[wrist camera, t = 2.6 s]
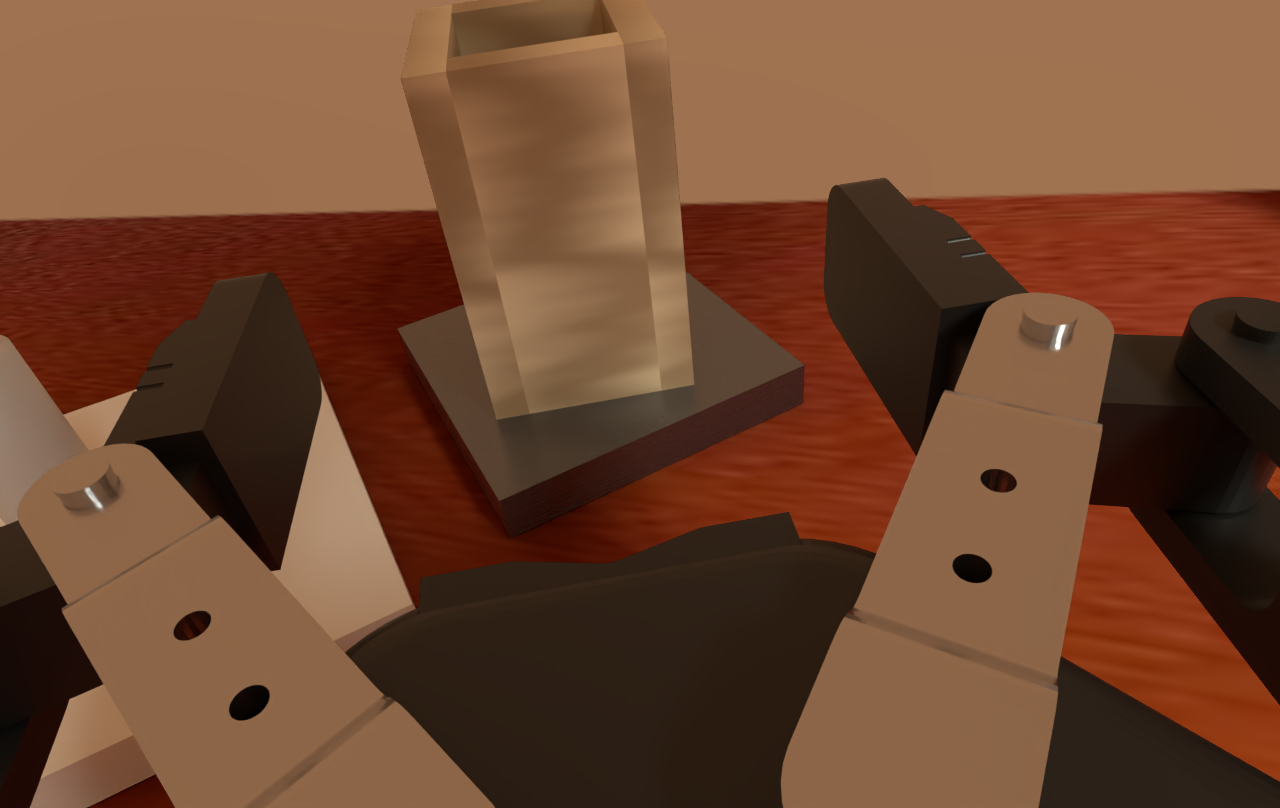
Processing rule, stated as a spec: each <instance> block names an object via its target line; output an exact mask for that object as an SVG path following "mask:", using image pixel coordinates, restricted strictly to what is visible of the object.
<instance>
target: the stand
mask: <svg viewBox="0 0 1280 808" xmlns="http://www.w3.org/2000/svg"><path fill="white" fill-rule="evenodd" d="M685 272H686V271H685ZM686 285H687V298H688V311H689V324H690V337H691V349H692V362H693V375H694V385H690V386H685V387H679V388H673V389H668V390H662V391H656V392H651V393H645V394H639V395H634V396H628V397H622V398H617V399H611V400H605V401H600V402H594V403H588V404H583V405H577V406H571V407H566V408H560V409H554V410H549V411H543V412H537V413H532V414H526V415H520V416H515V417H509V418H503V419H498V420H496V416H495V413H494V409H493V405H492V402H491V398H490V395H489V391H488V388H487V384H486V381H485V377H484V373H483V370H482V366H481V363H480V359H479V356H478V352H477V348H476V345H475V341H474V338H473V334H472V331H471V327H470V324H469V320H468V316H467V313H466V309H465V306H464V305H461V306H458V307H456V308H453V309H450V310H447V311H444V312H442V313H439V314H436V315H433V316H431V317H428V318H425V319H422V320H419V321H417V322H414V323H411V324H408V325H406V326H403V327H400V328H397V330H398V332H399V335H400V338H401V341H402V344H403V347H404V350H405V352H406V355H407V358H408V361H409V363H410V365H411V367H412V369H413V370H414V372H415V374H416V375H417V377H418V379H419V381H420V382H421V384H422V386H423V388H424V389H425V391H426V393H427V395H428V396H429V398H430V400H431V401H432V403H433V405H434V407H435V408H436V410H437V412H438V414H439V415H440V417H441V419H442V421H443V422H444V424H445V426H446V427H447V429H448V431H449V433H450V434H451V436H452V438H453V440H454V441H455V443H456V445H457V447H458V448H459V450H460V452H461V453H462V455H463V457H464V459H465V460H466V462H467V464H468V466H469V467H470V469H471V471H472V472H473V474H474V476H475V478H476V479H477V481H478V483H479V485H480V486H481V488H482V490H483V492H484V493H485V495H486V497H487V498H488V500H489V502H490V504H491V505H492V507H493V509H494V511H495V512H496V514H497V516H498V518H499V519H500V521H501V523H502V524H503V526H504V528H505V530H506V531H507V533H508V535H509V537H510V538H512V537H514V536H517V535H519V534H521V533H523V532H525V531H527V530H530V529H532V528H534V527H536V526H538V525H540V524H543V523H545V522H547V521H549V520H551V519H553V518H556V517H558V516H560V515H562V514H564V513H566V512H569V511H571V510H573V509H575V508H577V507H579V506H582V505H584V504H586V503H588V502H590V501H592V500H594V499H597V498H599V497H601V496H603V495H605V494H607V493H610V492H612V491H614V490H616V489H618V488H620V487H623V486H625V485H627V484H629V483H631V482H633V481H636V480H638V479H640V478H642V477H644V476H646V475H649V474H651V473H653V472H655V471H657V470H659V469H662V468H664V467H666V466H668V465H670V464H672V463H675V462H677V461H679V460H681V459H683V458H685V457H688V456H690V455H692V454H694V453H696V452H698V451H700V450H703V449H705V448H707V447H709V446H711V445H713V444H716V443H718V442H720V441H722V440H724V439H726V438H729V437H731V436H733V435H735V434H737V433H739V432H742V431H744V430H746V429H748V428H750V427H752V426H755V425H757V424H759V423H761V422H763V421H765V420H768V419H770V418H772V417H774V416H776V415H778V414H781V413H783V412H785V411H787V410H789V409H791V408H794V407H796V406H798V405H800V404H802V403H803V393H804V364H802V363H801V362H800V361H798V360H797V359H796V358H795V357H793V356H792V355H791V354H790V353H788V352H787V351H786V350H785V349H783V348H782V347H781V346H780V345H778V344H777V343H776V342H775V341H773V340H772V339H771V338H769V337H768V336H767V335H766V334H764V333H763V332H762V331H761V330H759V329H758V328H757V327H756V326H754V325H753V324H752V323H751V322H749V321H748V320H747V319H745V318H744V317H743V316H742V315H740V314H739V313H738V312H737V311H735V310H734V309H733V308H732V307H730V306H729V305H728V304H727V303H725V302H724V301H723V300H722V299H720V298H719V297H718V296H716V295H715V294H714V293H713V292H711V291H710V290H709V289H708V288H706V287H705V286H704V285H703V284H701V283H700V282H699V281H698V280H696V279H695V278H694V277H692V276H691V275H690V274H689V273H687V272H686Z"/></svg>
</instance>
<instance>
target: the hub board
mask: <svg viewBox="0 0 1280 808" xmlns="http://www.w3.org/2000/svg"><path fill="white" fill-rule="evenodd" d="M320 380H321V377H320ZM321 388H322V402H321V407H320V411H319V415H318V419H317V423H316V427H315V431H314V435H313V440H312V444H311V448H310V452H309V456H308V460H307V464H306V468H305V472H304V476H303V480H302V484H301V488H300V492H299V496H298V501H297V505H296V509H295V513H294V517H293V521H292V525H291V529H290V533H289V537H288V541H287V545H286V549H285V553H284V557H283V561H282V566H281V570H277V571H271V572H272V573H273V574H274V575H275V576H276V578H277V579H278V580H279V581H280V582H281V583H282V584H283V585H284V586H285V587H286V589H287V590H288V591H289V592H290V593H291V594H292V595H293V596H294V597H295V599H296V600H297V601H298V602H299V603H300V604H301V605H302V606H303V607H304V608H305V610H306V611H307V612H308V613H309V614H310V615H311V616H312V617H313V618H314V619H315V621H316V622H317V623H318V624H319V625H320V626H321V627H322V628H323V629H324V630H325V632H326V633H327V634H328V635H329V636H330V637H331V638H332V639H333V640H334V641H335V643H336V644H337V645H338V646H339V647H340V648H341V649H342V650H343V651H344V653H345V652H346V651H347V650H348V649H349V648H351V647H352V646H353V645H355V644H356V643H357V642H359V641H360V640H361V639H362V638H364V637H365V636H366V635H368V634H370V633H371V632H373V631H374V630H376V629H377V628H379V627H381V626H382V625H384V624H385V623H387V622H389V621H391V620H393V619H395V618H397V617H399V616H401V615H403V614H405V613H407V612H409V611H412V610H414V609H416V608H415V606H414V603H413V601H412V598H411V596H410V593H409V591H408V589H407V586H406V584H405V581H404V579H403V576H402V574H401V572H400V569H399V567H398V564H397V562H396V560H395V557H394V555H393V552H392V550H391V547H390V545H389V543H388V540H387V538H386V535H385V533H384V530H383V528H382V526H381V523H380V521H379V518H378V516H377V513H376V511H375V509H374V506H373V504H372V501H371V499H370V496H369V494H368V492H367V489H366V487H365V484H364V482H363V479H362V477H361V475H360V472H359V470H358V467H357V465H356V462H355V460H354V458H353V455H352V453H351V450H350V448H349V445H348V443H347V441H346V438H345V436H344V433H343V431H342V428H341V426H340V424H339V421H338V419H337V416H336V414H335V411H334V409H333V407H332V404H331V402H330V399H329V397H328V394H327V392H326V390H325V387H324V385H323V382H322V380H321ZM136 391H137V389H136V390H133V391H130V392H127V393H124V394H122V395H119V396H116V397H113V398H110V399H107V400H104V401H102V402H99V403H96V404H93V405H90V406H87V407H84V408H81V409H79V410H76V411H73V412H70V413H67V414H64V415H63V414H62V412H61V411H60V410H59V408H58V407H57V405H56V404H55V403H54V401H53V400H52V398H51V397H50V396H49V394H48V393H47V391H46V390H45V389H44V387H43V386H42V384H41V383H40V382H39V380H38V379H37V377H36V376H35V375H34V373H33V372H32V371H31V369H30V368H29V366H28V365H27V364H26V362H25V361H24V359H23V358H22V357H21V355H20V354H19V352H18V351H17V350H16V348H15V347H14V345H13V344H12V343H11V341H10V340H9V339H8V338H7V337H5V336H2V335H0V527H2V526H4V525H7V524H10V523H13V522H15V521H17V520H18V518H17V510H18V506H19V503H20V501H21V499H22V498H23V496H24V494H25V493H26V492H27V491H28V489H29V488H30V487H31V486H32V485H33V484H34V483H35V482H36V481H37V480H38V479H39V478H40V477H42V476H43V475H44V474H45V473H47V472H48V471H50V470H51V469H53V468H54V467H56V466H57V465H59V464H61V463H62V462H64V461H66V460H68V459H70V458H72V457H74V456H76V455H78V454H81V453H83V452H86V451H89V450H92V449H95V448H99V447H102V446H104V444H105V442H106V441H107V439H108V437H109V435H110V433H111V431H112V430H113V428H114V426H115V424H116V422H117V420H118V419H119V417H120V415H121V413H122V411H123V409H124V408H125V406H126V404H127V402H128V400H129V398H130V397H131V395H132V393H133V392H136ZM155 774H156V773H155V772H154V770H153V768H152V767H151V765H150V763H149V761H148V760H147V758H146V756H145V755H144V753H143V751H142V749H141V748H140V746H139V744H138V742H137V741H136V739H135V737H134V736H133V734H132V732H131V730H130V729H129V727H128V725H127V724H126V722H125V720H124V718H123V717H122V715H121V713H120V711H119V710H118V708H117V706H116V705H115V703H114V701H113V699H112V698H111V696H110V694H109V693H108V691H107V689H106V687H105V686H104V684H103V685H101V686H99V687H97V688H94V689H92V690H90V691H87V692H85V693H83V694H81V695H78V696H76V697H74V698H71V699H69V703H68V706H67V709H66V711H65V714H64V717H63V720H62V722H61V725H60V728H59V730H58V733H57V736H56V739H55V741H54V744H53V747H52V749H51V752H50V755H49V757H48V760H47V763H46V766H45V768H44V771H43V774H42V776H41V779H40V782H39V785H38V787H37V790H36V793H35V795H34V798H33V801H32V804H31V806H30V808H87V807H89V806H91V805H93V804H95V803H97V802H100V801H102V800H104V799H106V798H108V797H110V796H112V795H114V794H116V793H118V792H120V791H122V790H124V789H126V788H128V787H130V786H132V785H134V784H136V783H138V782H141V781H143V780H145V779H147V778H149V777H151V776H153V775H155Z"/></svg>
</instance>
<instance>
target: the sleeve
mask: <svg viewBox="0 0 1280 808" xmlns="http://www.w3.org/2000/svg"><path fill="white" fill-rule="evenodd" d="M401 82H402V85H403V89H404V92H405V96H406V99H407V103H408V107H409V110H410V113H411V117H412V121H413V124H414V128H415V131H416V135H417V139H418V142H419V146H420V149H421V153H422V156H423V160H424V164H425V167H426V171H427V174H428V178H429V181H430V185H431V188H432V192H433V195H434V199H435V203H436V206H437V210H438V213H439V217H440V220H441V224H442V228H443V231H444V235H445V238H446V242H447V245H448V249H449V252H450V256H451V260H452V263H453V267H454V270H455V274H456V277H457V281H458V284H459V288H460V292H461V295H462V299H463V302H464V306H465V309H466V313H467V316H468V320H469V324H470V327H471V331H472V334H473V338H474V341H475V345H476V348H477V352H478V356H479V359H480V363H481V366H482V370H483V373H484V377H485V381H486V384H487V388H488V391H489V395H490V398H491V402H492V405H493V409H494V413H495V416H496V420H498V419H503V418H509V417H515V416H520V415H526V414H532V413H537V412H543V411H549V410H554V409H560V408H566V407H571V406H577V405H583V404H588V403H594V402H600V401H605V400H611V399H617V398H622V397H628V396H634V395H639V394H645V393H651V392H656V391H662V390H668V389H673V388H679V387H685V386H690V385H694V375H693V362H692V349H691V337H690V324H689V311H688V298H687V285H686V272H685V260H684V247H683V234H682V221H681V208H680V195H679V183H678V170H677V159H676V144H675V131H674V118H673V106H672V94H671V81H670V67H669V54H668V41H667V36H666V35H665V33H664V32H663V30H662V28H661V27H660V25H659V24H658V22H657V20H656V19H655V17H654V16H653V14H652V13H651V11H650V9H649V8H648V6H647V5H646V3H645V1H644V0H478V1H471V2H465V3H458V4H451V5H444V6H438V7H431V8H425V9H418V10H416V13H415V17H414V22H413V26H412V31H411V35H410V39H409V44H408V48H407V53H406V57H405V62H404V66H403V70H402V75H401Z"/></svg>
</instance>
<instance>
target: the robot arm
mask: <svg viewBox="0 0 1280 808" xmlns="http://www.w3.org/2000/svg"><path fill="white" fill-rule="evenodd" d="M985 251H986V250H985V249H984V248H983V247H982V246H981V245H980V244H979V243H978V242H976V241H975V240H971V236H970V235H969V234H968V233H967V232H966V231H965V230H964V229H963V228H962V227H961V226H960V225H959V224H958V223H957V222H956V221H955V220H954V219H953V218H951V217H949V216H947V215H944V214H942V213H940V212H938V211H935V210H933V209H931V208H929V207H927V206H924V205H921V206H915V207H914V206H913V205H912V204H911V203H910V202H909V201H908V200H907V199H906V198H905V197H904V196H903V195H902V194H901V193H900V192H899V191H898V190H897V189H896V188H895V187H894V186H893V185H892V184H891V183H890V182H889V180H887V179H886V178H880V179H873V180H867V181H861V182H854V183H848V184H842V185H835V186H833V187H832V189H831V191H830V194H829V199H828V209H827V229H826V249H825V269H824V291H825V299H826V304H827V308H828V311H829V314H830V317H831V319H832V321H833V323H834V324H835V326H836V328H837V329H838V331H839V332H840V334H841V336H842V337H843V339H844V340H845V342H846V344H847V345H848V347H849V348H850V350H851V352H852V353H853V355H854V357H855V358H856V360H857V361H858V363H859V365H860V366H861V368H862V369H863V371H864V373H865V374H866V376H867V377H868V379H869V381H870V382H871V384H872V385H873V387H874V389H875V390H876V392H877V393H878V395H879V397H880V398H881V400H882V402H883V403H884V405H885V406H886V408H887V410H888V411H889V413H890V414H891V416H892V418H893V419H894V421H895V422H896V424H897V426H898V427H899V429H900V430H901V432H902V434H903V435H904V437H905V438H906V440H907V442H908V443H909V445H910V447H911V448H912V450H913V451H914V453H915V455H916V456H917V457H916V459H915V462H914V464H913V466H912V469H911V471H910V474H909V476H908V479H907V481H906V483H905V486H904V488H903V491H902V493H901V496H900V498H899V500H898V503H897V505H896V508H895V510H894V513H893V515H892V517H891V520H890V522H889V525H888V527H887V530H886V532H885V534H884V537H883V539H882V542H881V544H880V547H879V549H878V551H877V554H876V553H873V552H870V551H867V550H864V549H861V548H858V547H855V546H850V545H846V544H841V543H837V542H831V541H824V540H816V539H799V536H798V534H797V531H796V529H795V526H794V524H793V521H792V519H791V516H790V514H789V512H786V513H780V514H774V515H769V516H763V517H758V518H752V519H747V520H741V521H735V522H730V523H724V524H719V525H713V526H708V527H702V528H698V529H696V530H693V531H691V532H688V533H686V534H683V535H681V536H678V537H676V538H673V539H671V540H668V541H666V542H663V543H661V544H658V545H656V546H653V547H651V548H648V549H646V550H643V551H641V552H638V553H636V554H633V555H631V556H628V557H626V558H623V559H621V560H618V561H615V562H611V563H559V562H518V561H512V562H507V563H501V564H495V565H490V566H484V567H479V568H473V569H468V570H462V571H456V572H451V573H445V574H440V575H434V576H429V577H423V578H421V582H420V596H419V608H417V609H414V610H412V611H409V612H407V613H405V614H403V615H401V616H399V617H397V618H395V619H393V620H391V621H389V622H387V623H385V624H384V625H382V626H381V627H379V628H377V629H376V630H374V631H373V632H371V633H370V634H368V635H366V636H365V637H364V638H362V639H361V640H360V641H359V642H357V643H356V644H355V645H353V646H352V647H351V648H349V649H348V650H347V651H346V652H345V653H344V651H343V650H342V649H341V648H340V647H339V646H338V645H337V644H336V643H335V641H334V640H333V639H332V638H331V637H330V636H329V635H328V634H327V633H326V632H325V630H324V629H323V628H322V627H321V626H320V625H319V624H318V623H317V622H316V621H315V619H314V618H313V617H312V616H311V615H310V614H309V613H308V612H307V611H306V610H305V608H304V607H303V606H302V605H301V604H300V603H299V602H298V601H297V600H296V599H295V597H294V596H293V595H292V594H291V593H290V592H289V591H288V590H287V589H286V587H285V586H284V585H283V584H282V583H281V582H280V581H279V580H278V579H277V578H276V576H275V575H274V574H273V573H272V572H271V571H277V570H281V566H282V561H283V557H284V553H285V549H286V545H287V541H288V537H289V533H290V529H291V525H292V521H293V517H294V513H295V509H296V505H297V501H298V496H299V492H300V488H301V484H302V480H303V476H304V472H305V468H306V464H307V460H308V456H309V452H310V448H311V444H312V440H313V435H314V431H315V427H316V423H317V419H318V415H319V411H320V407H321V402H322V388H321V380H320V375H319V371H318V368H317V364H316V362H315V359H314V357H313V354H312V352H311V350H310V347H309V345H308V342H307V340H306V338H305V335H304V333H303V331H302V328H301V326H300V323H299V321H298V319H297V316H296V314H295V311H294V309H293V307H292V304H291V302H290V299H289V297H288V295H287V292H286V290H285V288H284V286H283V284H282V282H281V280H280V279H279V278H278V277H277V275H275V274H274V273H271V272H270V273H264V274H257V275H251V276H244V277H238V278H232V279H225V280H219V281H216V282H215V283H214V285H213V287H212V289H211V291H210V293H209V295H208V297H207V299H206V301H205V303H204V305H203V306H202V308H201V310H200V312H199V314H198V316H197V318H196V319H194V320H187V321H185V322H184V323H183V324H182V325H180V326H179V327H178V328H177V329H176V330H175V331H173V332H172V333H171V334H170V335H169V336H168V337H167V338H165V339H164V340H163V341H162V342H161V343H160V344H159V345H158V347H157V349H156V351H155V353H154V355H153V356H152V358H151V360H150V362H149V364H148V365H147V367H146V368H147V372H144V373H143V375H142V376H141V378H140V380H139V382H138V384H137V386H136V389H137V391H136V392H133V393H132V395H131V397H130V398H129V400H128V402H127V404H126V406H125V408H124V409H123V411H122V413H121V415H120V417H119V419H118V420H117V422H116V424H115V426H114V428H113V430H112V431H111V433H110V435H109V437H108V439H107V441H106V442H105V444H104V446H102V447H99V448H95V449H92V450H89V451H86V452H83V453H81V454H78V455H76V456H74V457H72V458H70V459H68V460H66V461H64V462H62V463H61V464H59V465H57V466H56V467H54V468H53V469H51V470H50V471H48V472H47V473H45V474H44V475H43V476H42V477H40V478H39V479H38V480H37V481H36V482H35V483H34V484H33V485H32V486H31V487H30V488H29V489H28V491H27V492H26V493H25V494H24V496H23V498H22V499H21V501H20V503H19V506H18V510H17V518H18V520H17V521H15V522H13V523H10V524H7V525H4V526H2V527H0V808H30V806H31V804H32V801H33V798H34V795H35V793H36V790H37V787H38V785H39V782H40V779H41V776H42V774H43V771H44V768H45V766H46V763H47V760H48V757H49V755H50V752H51V749H52V747H53V744H54V741H55V739H56V736H57V733H58V730H59V728H60V725H61V722H62V720H63V717H64V714H65V711H66V709H67V706H68V703H69V699H71V698H74V697H76V696H78V695H81V694H83V693H85V692H87V691H90V690H92V689H94V688H97V687H99V686H101V685H103V684H104V686H105V687H106V689H107V691H108V693H109V694H110V696H111V698H112V699H113V701H114V703H115V705H116V706H117V708H118V710H119V711H120V713H121V715H122V717H123V718H124V720H125V722H126V724H127V725H128V727H129V729H130V730H131V732H132V734H133V736H134V737H135V739H136V741H137V742H138V744H139V746H140V748H141V749H142V751H143V753H144V755H145V756H146V758H147V760H148V761H149V763H150V765H151V767H152V768H153V770H154V772H155V773H156V775H157V777H158V779H159V780H160V782H161V784H162V786H163V787H164V789H165V791H166V792H167V794H168V796H169V798H170V799H171V801H172V803H173V805H174V806H175V808H1280V782H1279V781H1277V780H1275V779H1274V778H1272V777H1270V776H1268V775H1267V774H1265V773H1263V772H1261V771H1260V770H1258V769H1256V768H1254V767H1253V766H1251V765H1249V764H1247V763H1246V762H1244V761H1242V760H1241V759H1239V758H1237V757H1235V756H1234V755H1232V754H1230V753H1228V752H1227V751H1225V750H1223V749H1221V748H1220V747H1218V746H1216V745H1214V744H1213V743H1211V742H1209V741H1207V740H1206V739H1204V738H1202V737H1200V736H1199V735H1197V734H1195V733H1194V732H1192V731H1190V730H1188V729H1187V728H1185V727H1183V726H1181V725H1180V724H1178V723H1176V722H1174V721H1173V720H1171V719H1169V718H1167V717H1166V716H1164V715H1162V714H1160V713H1159V712H1157V711H1155V710H1153V709H1152V708H1150V707H1148V706H1147V705H1145V704H1143V703H1141V702H1140V701H1138V700H1136V699H1134V698H1133V697H1131V696H1129V695H1127V694H1126V693H1124V692H1122V691H1120V690H1119V689H1117V688H1115V687H1114V686H1112V685H1110V684H1108V683H1107V682H1105V681H1103V680H1101V679H1100V678H1098V677H1096V676H1094V675H1093V674H1091V673H1089V672H1087V671H1086V670H1084V669H1082V668H1080V667H1079V666H1077V665H1075V664H1074V663H1072V662H1070V661H1068V660H1067V659H1065V658H1063V657H1061V651H1062V646H1063V641H1064V635H1065V630H1066V624H1067V619H1068V613H1069V608H1070V603H1071V597H1072V592H1073V586H1074V581H1075V576H1076V570H1077V565H1078V559H1079V554H1080V548H1081V543H1082V538H1083V532H1084V527H1085V521H1086V516H1087V511H1088V505H1089V504H1092V505H1107V506H1121V507H1129V509H1130V510H1131V512H1132V513H1133V515H1134V516H1135V517H1136V519H1137V520H1138V521H1139V522H1140V524H1141V525H1142V526H1143V528H1144V529H1145V530H1146V532H1147V533H1148V534H1149V535H1150V537H1151V538H1152V539H1153V541H1154V542H1155V543H1156V545H1157V546H1158V547H1159V548H1160V550H1161V551H1162V552H1163V554H1164V555H1165V556H1166V558H1167V559H1168V560H1169V562H1170V563H1171V564H1172V565H1173V567H1174V568H1175V569H1176V571H1177V572H1178V573H1179V575H1180V576H1181V577H1182V578H1183V580H1184V581H1185V582H1186V584H1187V585H1188V586H1189V588H1190V589H1191V590H1192V591H1193V593H1194V594H1195V595H1196V597H1197V598H1198V599H1199V601H1200V602H1201V603H1202V605H1203V606H1204V607H1205V608H1206V610H1207V611H1208V612H1209V614H1210V615H1211V616H1212V618H1213V619H1214V620H1215V621H1216V623H1217V624H1218V625H1219V627H1220V628H1221V629H1222V631H1223V632H1224V633H1225V635H1226V636H1227V637H1228V638H1229V640H1230V641H1231V642H1232V644H1233V645H1234V646H1235V648H1236V649H1237V650H1238V651H1239V653H1240V654H1241V655H1242V657H1243V658H1244V659H1245V661H1246V662H1247V663H1248V664H1249V666H1250V667H1251V668H1252V670H1253V671H1254V672H1255V674H1256V675H1257V676H1258V678H1259V679H1260V680H1261V681H1262V683H1263V684H1264V685H1265V687H1266V688H1267V689H1268V691H1269V692H1270V693H1271V694H1272V696H1273V697H1274V698H1275V700H1276V701H1277V702H1278V704H1279V705H1280V500H1279V499H1278V498H1277V497H1276V496H1275V495H1274V494H1273V493H1272V492H1271V491H1270V490H1269V489H1268V488H1267V487H1266V486H1267V484H1268V482H1269V481H1270V479H1271V477H1272V475H1273V473H1274V471H1275V469H1276V467H1277V466H1278V467H1279V468H1280V303H1278V302H1274V301H1270V300H1264V299H1258V298H1248V297H1227V298H1219V299H1214V300H1210V301H1207V302H1204V303H1202V304H1200V305H1198V306H1197V307H1196V308H1195V309H1194V310H1193V311H1192V313H1191V315H1190V317H1189V320H1188V322H1187V325H1186V328H1185V330H1184V333H1183V336H1150V335H1122V334H1114V329H1113V326H1112V324H1111V322H1110V321H1109V319H1108V318H1107V317H1106V316H1105V315H1104V314H1103V313H1102V312H1100V311H1099V310H1097V309H1096V308H1094V307H1092V306H1090V305H1088V304H1087V303H1084V302H1082V301H1079V300H1076V299H1073V298H1070V297H1066V296H1061V295H1056V294H1048V293H1029V292H1028V291H1026V290H1025V289H1024V288H1023V287H1022V286H1021V285H1020V284H1019V283H1018V282H1017V281H1016V280H1015V279H1014V278H1013V277H1012V276H1011V275H1010V274H1009V273H1008V272H1007V271H1006V270H1005V269H1004V268H1003V267H1002V266H1001V265H1000V264H999V263H998V262H997V261H996V260H995V259H994V258H993V257H992V256H991V255H990V254H987V255H986V253H985Z"/></svg>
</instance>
